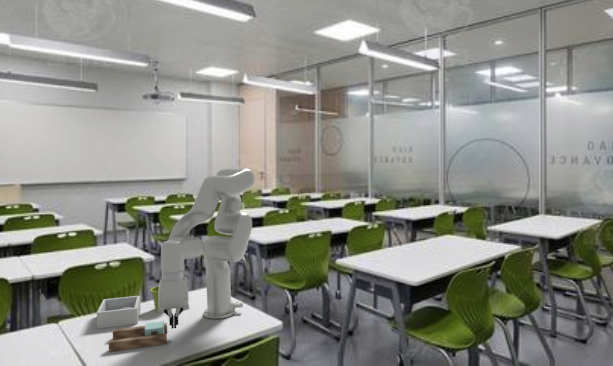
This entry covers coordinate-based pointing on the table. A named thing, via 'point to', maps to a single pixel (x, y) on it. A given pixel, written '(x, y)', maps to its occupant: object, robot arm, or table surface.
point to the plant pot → (155, 296)
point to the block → (154, 328)
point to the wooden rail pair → (136, 338)
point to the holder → (118, 312)
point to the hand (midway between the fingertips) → (173, 327)
